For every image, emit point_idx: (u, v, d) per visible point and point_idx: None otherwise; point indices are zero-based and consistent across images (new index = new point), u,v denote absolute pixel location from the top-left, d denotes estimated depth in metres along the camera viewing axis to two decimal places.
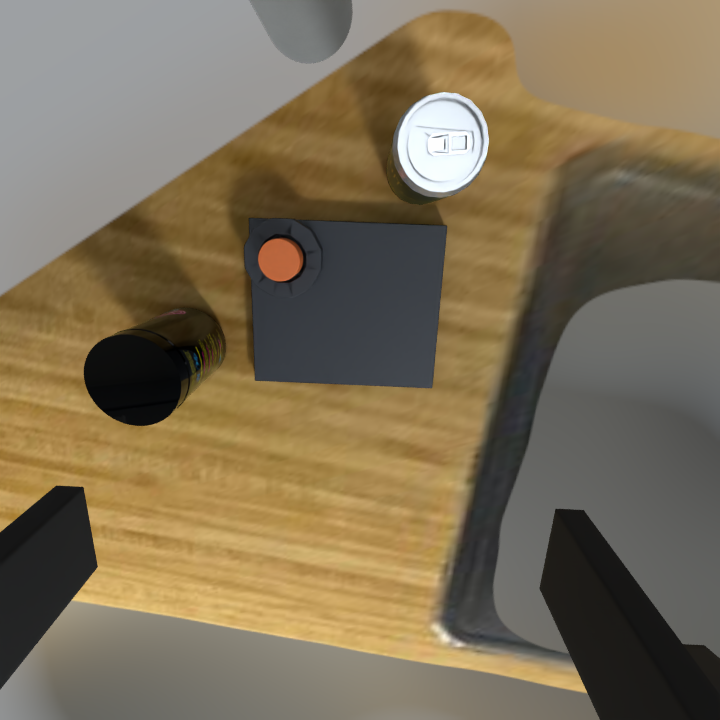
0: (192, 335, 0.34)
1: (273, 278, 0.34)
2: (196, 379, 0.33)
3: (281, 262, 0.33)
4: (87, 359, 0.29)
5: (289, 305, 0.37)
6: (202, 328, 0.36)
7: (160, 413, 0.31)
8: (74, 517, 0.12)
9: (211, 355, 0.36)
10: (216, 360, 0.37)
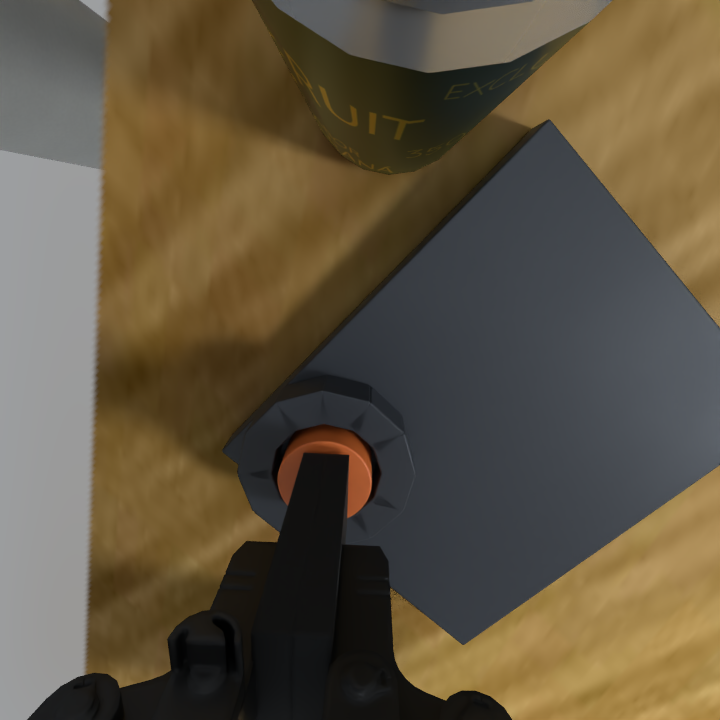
0: None
1: None
2: None
3: None
4: None
5: (406, 510, 0.18)
6: None
7: None
8: None
9: None
10: None
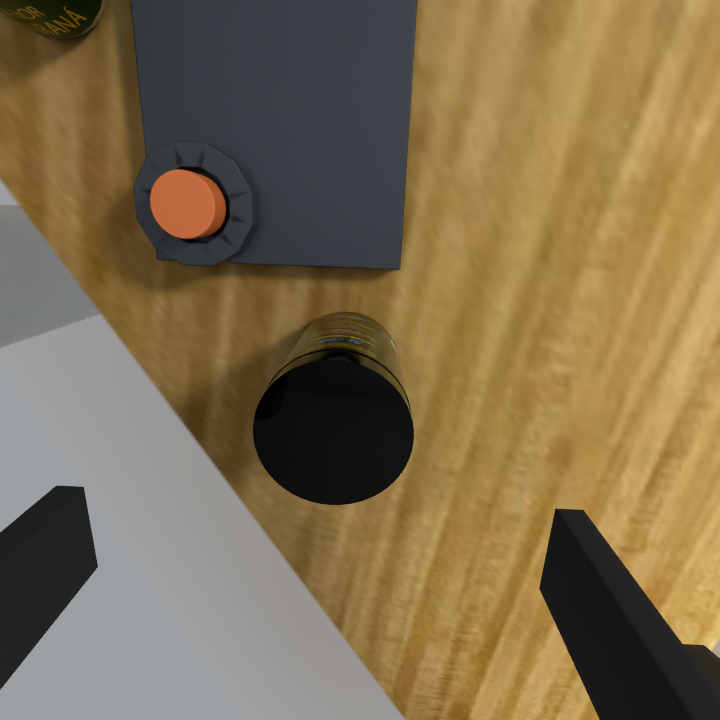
0: (297, 346, 0.22)
1: (211, 215, 0.21)
2: (356, 343, 0.20)
3: (184, 201, 0.21)
4: (298, 494, 0.19)
5: (276, 205, 0.24)
6: (303, 335, 0.24)
7: (390, 401, 0.18)
8: (74, 517, 0.12)
9: (343, 325, 0.23)
10: (356, 322, 0.24)
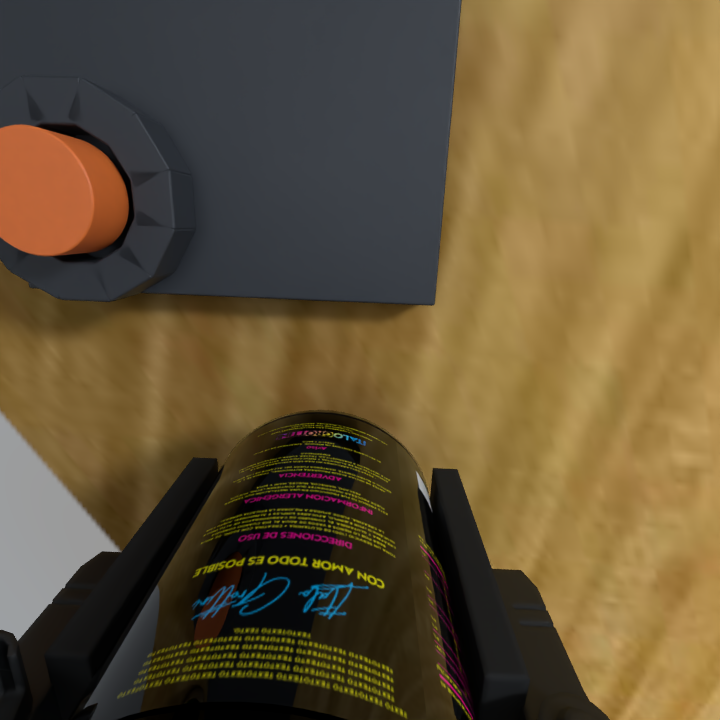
0: (175, 561, 0.08)
1: (87, 213, 0.11)
2: (328, 619, 0.06)
3: (35, 186, 0.11)
4: None
5: (223, 196, 0.14)
6: (215, 489, 0.10)
7: None
8: None
9: (305, 477, 0.09)
10: (341, 456, 0.10)
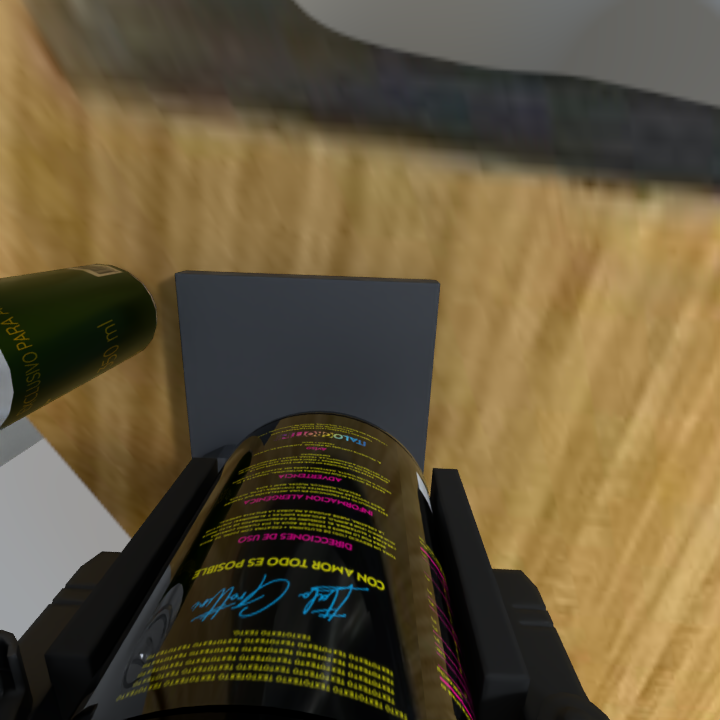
0: (174, 562, 0.08)
1: None
2: (328, 621, 0.06)
3: None
4: None
5: None
6: (215, 490, 0.10)
7: None
8: None
9: (305, 479, 0.09)
10: (341, 456, 0.10)
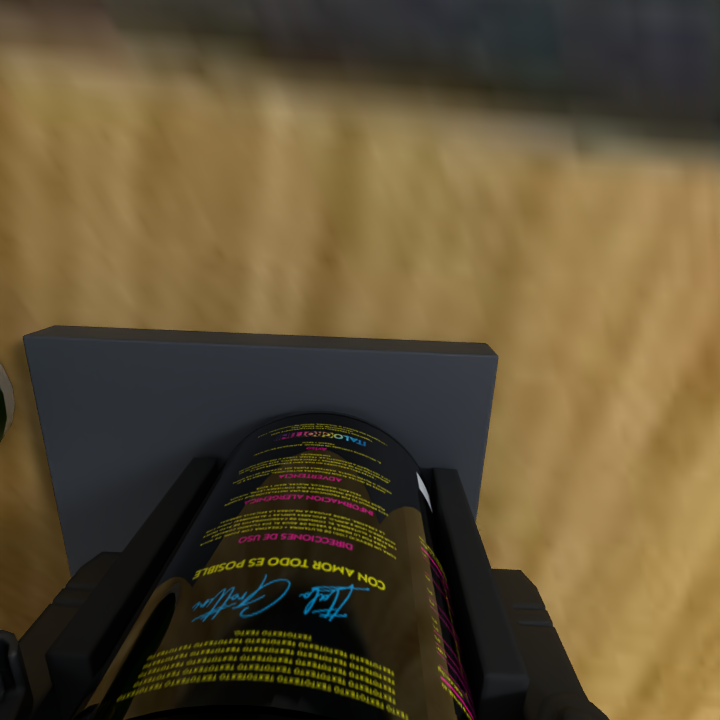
0: (174, 563, 0.08)
1: None
2: (329, 621, 0.06)
3: None
4: None
5: None
6: (215, 491, 0.10)
7: None
8: None
9: (305, 478, 0.09)
10: (341, 456, 0.10)
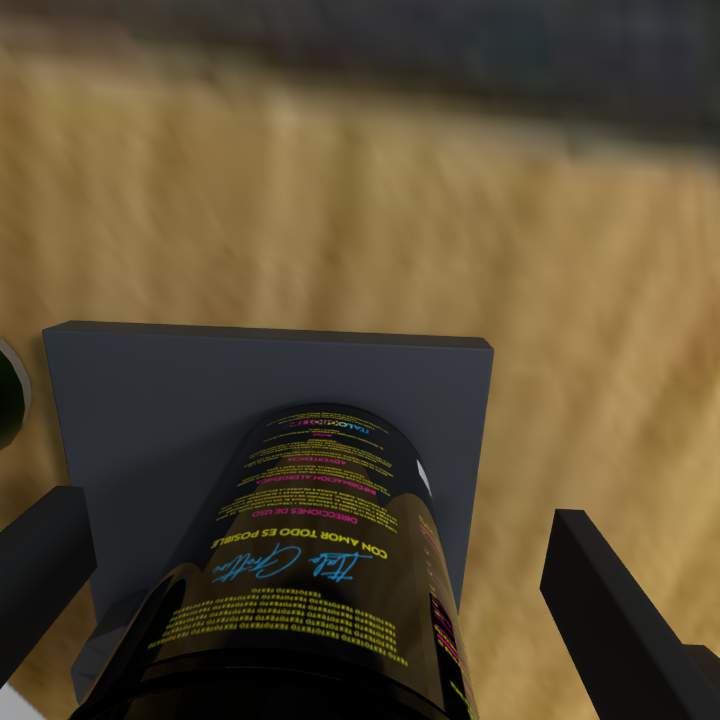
0: (192, 536, 0.09)
1: None
2: (336, 582, 0.07)
3: None
4: None
5: None
6: (227, 474, 0.11)
7: None
8: (74, 517, 0.12)
9: (312, 461, 0.10)
10: (346, 442, 0.11)
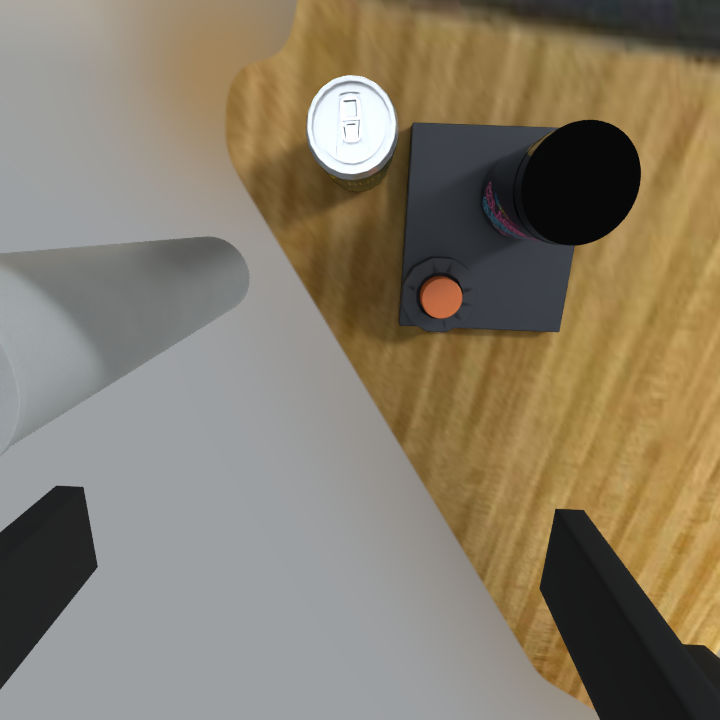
0: (521, 149, 0.29)
1: (459, 305, 0.35)
2: None
3: (443, 296, 0.34)
4: (546, 237, 0.26)
5: (483, 292, 0.37)
6: (511, 154, 0.31)
7: (627, 154, 0.24)
8: (74, 517, 0.12)
9: None
10: None
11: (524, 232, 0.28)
